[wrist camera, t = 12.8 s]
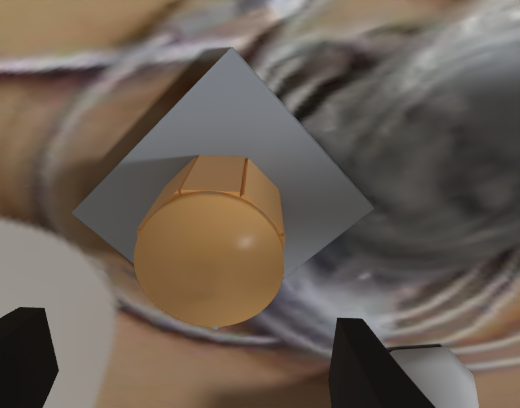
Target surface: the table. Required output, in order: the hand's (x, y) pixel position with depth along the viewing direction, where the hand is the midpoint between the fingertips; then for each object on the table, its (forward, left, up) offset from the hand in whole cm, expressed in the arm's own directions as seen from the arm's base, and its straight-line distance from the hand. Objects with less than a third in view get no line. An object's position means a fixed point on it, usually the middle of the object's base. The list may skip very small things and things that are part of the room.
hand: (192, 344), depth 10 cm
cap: (0, 0, -8) cm, 8 cm away
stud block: (0, 0, -9) cm, 9 cm away
